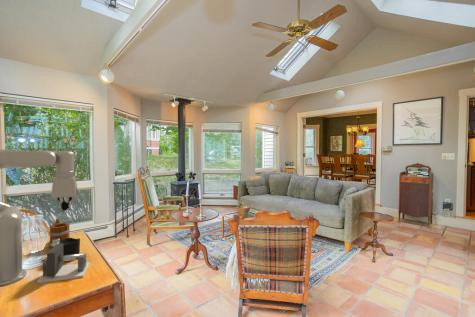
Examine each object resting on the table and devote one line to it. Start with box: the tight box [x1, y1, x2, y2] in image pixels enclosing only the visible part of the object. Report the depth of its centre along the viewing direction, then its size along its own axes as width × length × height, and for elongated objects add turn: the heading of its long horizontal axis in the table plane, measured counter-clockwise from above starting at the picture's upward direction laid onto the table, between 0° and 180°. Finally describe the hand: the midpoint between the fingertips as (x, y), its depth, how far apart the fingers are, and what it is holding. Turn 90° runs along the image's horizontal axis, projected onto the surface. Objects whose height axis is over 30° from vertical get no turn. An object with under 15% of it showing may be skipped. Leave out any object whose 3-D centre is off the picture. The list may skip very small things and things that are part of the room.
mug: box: [48, 218, 71, 250], centre depth 147 cm, size 11×16×15 cm, turn 46°
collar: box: [46, 243, 64, 277], centre depth 113 cm, size 3×11×11 cm, turn 20°
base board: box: [36, 261, 91, 284], centre depth 115 cm, size 18×13×1 cm
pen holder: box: [59, 237, 81, 263], centre depth 130 cm, size 9×9×10 cm
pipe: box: [42, 252, 87, 276], centre depth 115 cm, size 16×5×8 cm, turn 110°
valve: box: [52, 238, 60, 248], centre depth 136 cm, size 7×7×12 cm
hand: (65, 209), depth 122 cm, fingers closed
